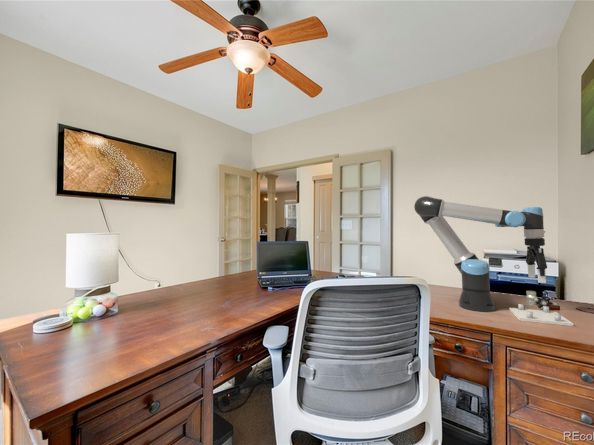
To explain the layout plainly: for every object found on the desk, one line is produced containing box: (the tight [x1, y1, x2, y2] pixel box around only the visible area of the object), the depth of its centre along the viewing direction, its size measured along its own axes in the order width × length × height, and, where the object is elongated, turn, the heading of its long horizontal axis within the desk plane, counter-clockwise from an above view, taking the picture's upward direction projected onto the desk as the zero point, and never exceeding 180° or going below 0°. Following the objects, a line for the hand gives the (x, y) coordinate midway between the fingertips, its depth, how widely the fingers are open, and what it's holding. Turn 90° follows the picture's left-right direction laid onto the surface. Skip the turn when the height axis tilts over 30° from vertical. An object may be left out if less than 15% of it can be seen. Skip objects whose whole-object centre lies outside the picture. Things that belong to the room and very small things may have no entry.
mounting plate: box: [509, 303, 574, 327], centre depth 116 cm, size 17×16×4 cm
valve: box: [525, 290, 554, 310], centre depth 131 cm, size 7×7×12 cm
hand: (536, 280), depth 131 cm, fingers open, 13 cm apart
